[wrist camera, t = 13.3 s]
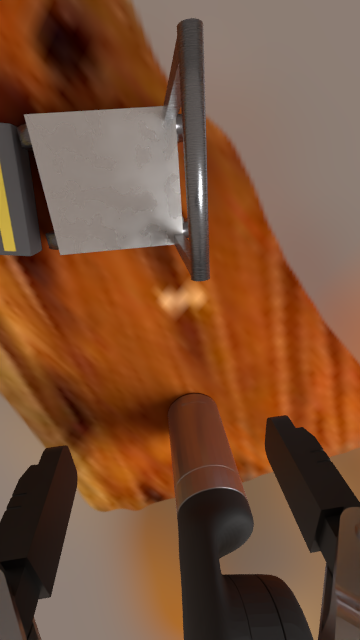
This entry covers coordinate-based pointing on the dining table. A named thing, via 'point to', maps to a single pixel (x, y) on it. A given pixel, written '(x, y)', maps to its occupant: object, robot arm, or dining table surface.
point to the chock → (16, 197)
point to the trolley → (130, 168)
